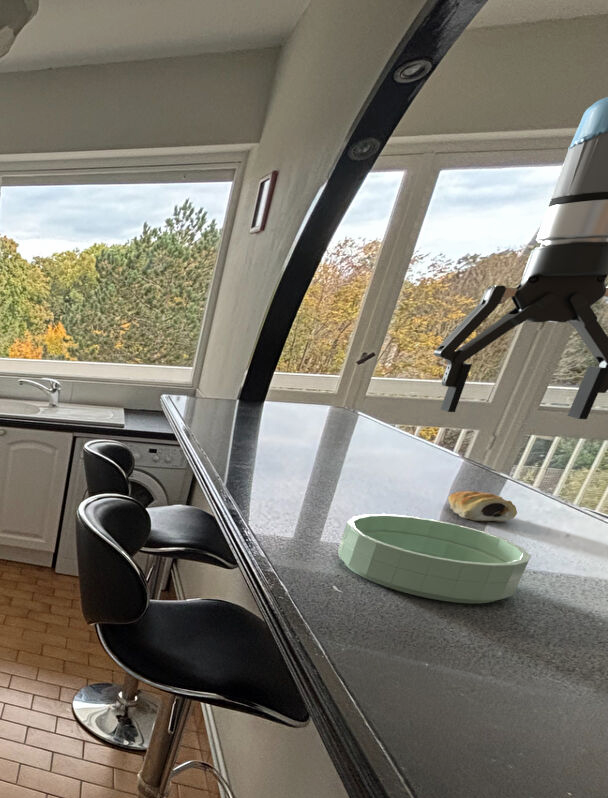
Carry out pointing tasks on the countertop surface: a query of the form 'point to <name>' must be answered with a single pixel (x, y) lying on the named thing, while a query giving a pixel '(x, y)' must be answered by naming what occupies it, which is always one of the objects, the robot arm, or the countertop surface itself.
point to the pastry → (481, 506)
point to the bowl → (432, 558)
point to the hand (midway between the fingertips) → (510, 414)
